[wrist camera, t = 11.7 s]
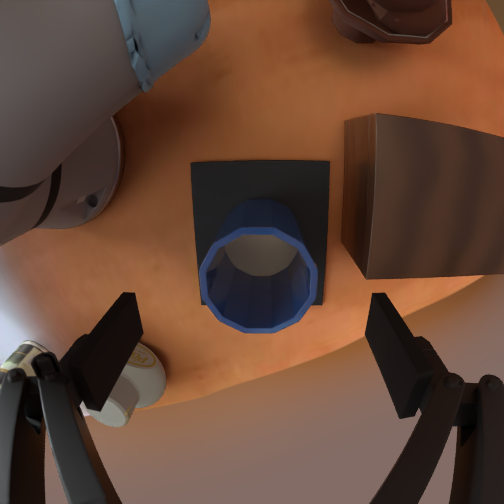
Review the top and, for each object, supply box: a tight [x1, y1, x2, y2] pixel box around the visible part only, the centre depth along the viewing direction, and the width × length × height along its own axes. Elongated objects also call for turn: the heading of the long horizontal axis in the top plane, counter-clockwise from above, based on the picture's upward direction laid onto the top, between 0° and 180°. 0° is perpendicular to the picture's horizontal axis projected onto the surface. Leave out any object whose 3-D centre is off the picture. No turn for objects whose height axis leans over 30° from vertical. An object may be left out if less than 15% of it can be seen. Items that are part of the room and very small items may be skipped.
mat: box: [191, 160, 330, 305], centre depth 31 cm, size 13×15×1 cm
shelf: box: [341, 113, 504, 280], centre depth 24 cm, size 16×12×9 cm
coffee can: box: [0, 341, 48, 388], centre depth 33 cm, size 10×10×14 cm
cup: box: [199, 199, 318, 333], centre depth 26 cm, size 8×8×10 cm
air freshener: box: [83, 342, 166, 427], centre depth 33 cm, size 11×8×10 cm
